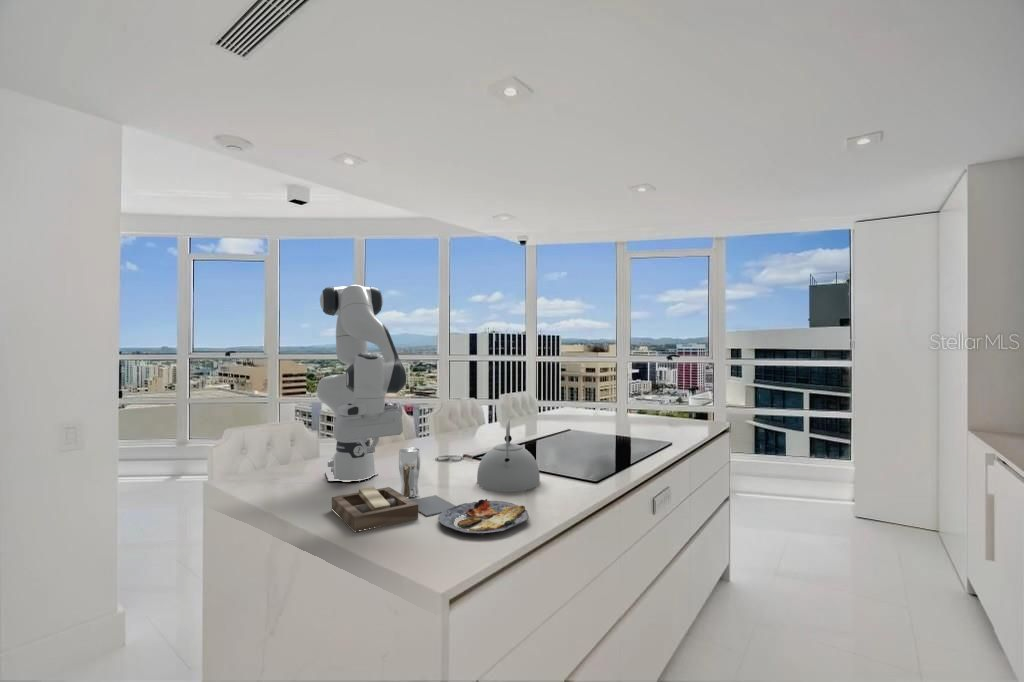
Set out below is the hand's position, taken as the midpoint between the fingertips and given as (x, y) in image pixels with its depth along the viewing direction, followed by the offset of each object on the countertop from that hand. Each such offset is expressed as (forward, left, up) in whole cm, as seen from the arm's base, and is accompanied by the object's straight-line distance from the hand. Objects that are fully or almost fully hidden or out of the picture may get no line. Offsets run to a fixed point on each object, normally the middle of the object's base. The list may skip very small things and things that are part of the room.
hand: (369, 452), depth 148 cm
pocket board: (+4, 0, -17) cm, 18 cm away
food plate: (+28, +23, -18) cm, 40 cm away
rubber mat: (+7, +17, -17) cm, 25 cm away
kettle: (0, +50, -18) cm, 54 cm away
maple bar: (+4, 0, -13) cm, 13 cm away
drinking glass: (-7, +16, -18) cm, 25 cm away
